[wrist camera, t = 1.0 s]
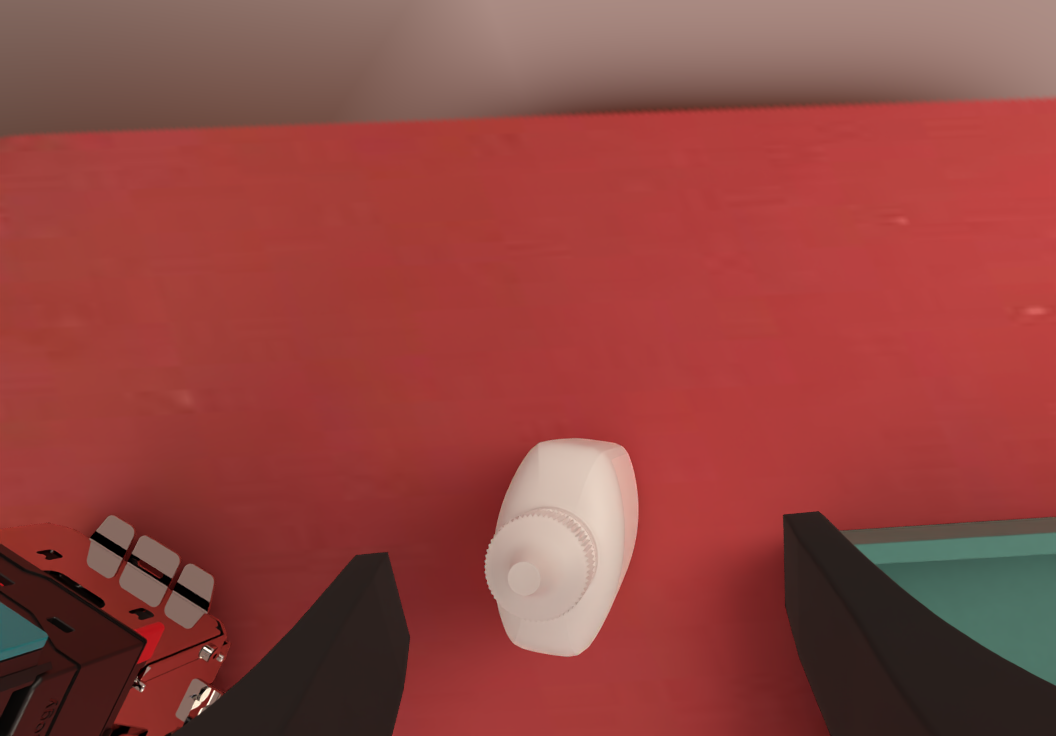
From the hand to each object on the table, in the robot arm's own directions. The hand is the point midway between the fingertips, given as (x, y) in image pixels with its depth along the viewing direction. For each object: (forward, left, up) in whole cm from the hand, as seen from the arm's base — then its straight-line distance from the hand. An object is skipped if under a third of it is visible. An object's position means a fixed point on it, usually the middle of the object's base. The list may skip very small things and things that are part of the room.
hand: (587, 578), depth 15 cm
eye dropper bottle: (0, +2, -14) cm, 14 cm away
